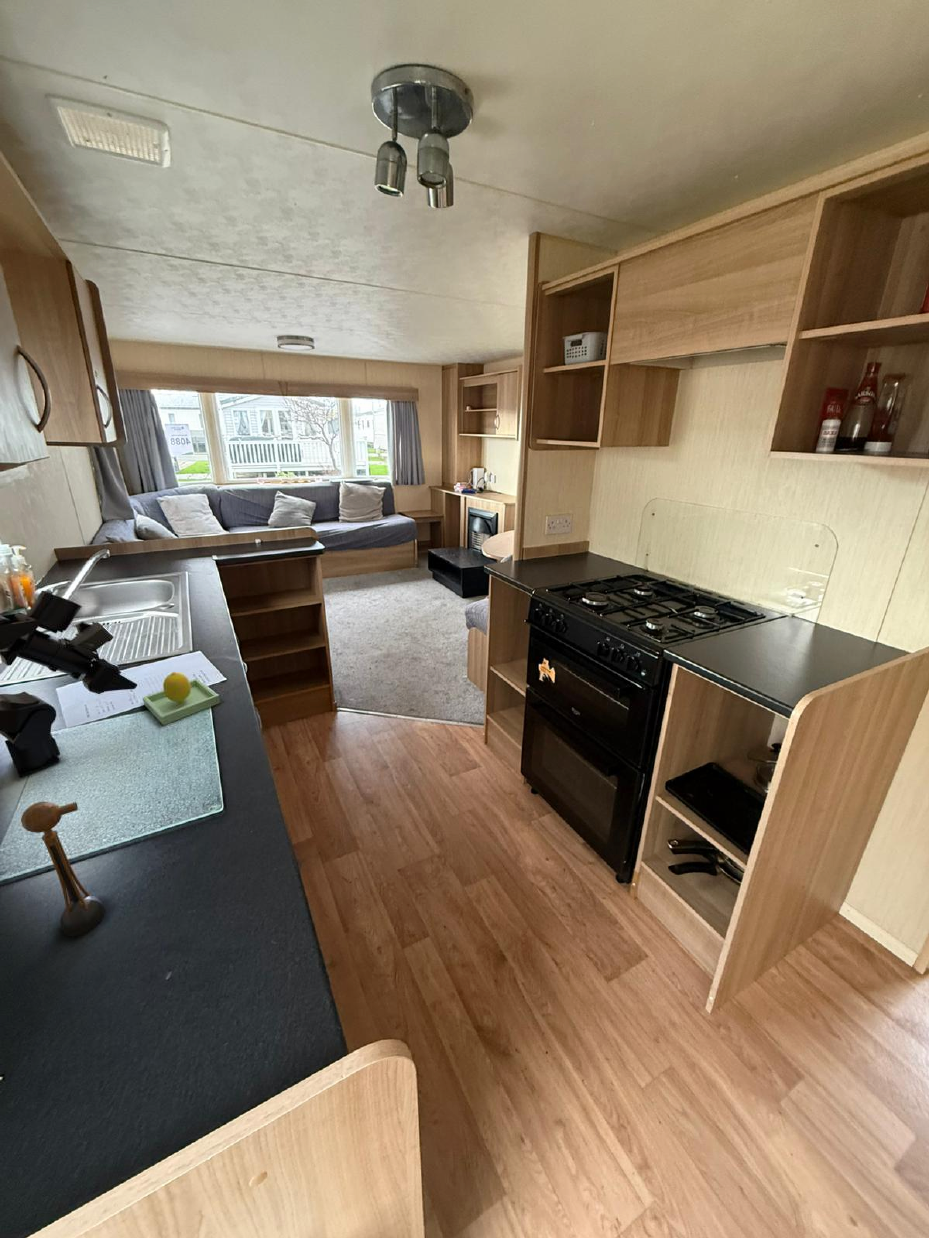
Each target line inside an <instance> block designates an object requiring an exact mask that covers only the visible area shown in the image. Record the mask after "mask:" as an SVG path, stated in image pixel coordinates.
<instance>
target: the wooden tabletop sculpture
mask: <svg viewBox="0 0 929 1238" xmlns="http://www.w3.org/2000/svg"><path fill="white" fill-rule="evenodd" d="M78 810H79V807H78V802H77V801H74V802H71V803H68V804H65V805H62V806H59V804H57V803H55V802H53V801H38V802H35V803H33V804H31V805H30V806H29V807H28V808H26V809H25V810H24V811H23V812H22V815H21V817H20V823H21V826H22V828H23V829H24V830H26V831H27V832H30V833H35V834H40V833H43V834H42V836H41V841H43V842H44V845H45V848H46V850H47V852H48V855H49V857H50V859H51V862H52V864H53V866H54V870H55V872H56V874H57V877H58V880H59V883H60V887H61V890H62V894H63V899H64V904H65V908H64V910H63V912H62V914H61V916H60V926H61V929H62V931H63V933H64V935H65V936H68V937H69V936H70V937H77V936H80V935H82V934H85V933H88V932H90V931H91V930H93V929H94V928H95V927H96V926H97V925H98V924H99V923H100V922H102V920H103V919H104V915H105V914H106V912H107V910H106V907H105V905H104V904H103V903H102V901H101V900H100V898H99V897H98V896H96V895H91V894H89V892H87V890H86V889H85V888H84V887H83V885H82V884H81V881H80V880H79V879H78V877H77V875H76V873H75V872H74V870H73V868H72V866H71V863H70V862H69V859H68V856H67V854H66V852H65V849H64V847H63V845H62V842H61V840H60V837H59V833H58V831H57V830H53V828H55V827H56V826H57V825H58V824H59V823H60V821H61V820H62V817H63V816H65V815H68V814H70V813H73V812H77V811H78ZM80 891H81V892H82V893H83V894H84V895H82V894H81V892H80Z"/></svg>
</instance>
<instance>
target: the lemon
mask: <svg viewBox="0 0 929 1238" xmlns="http://www.w3.org/2000/svg"><path fill="white" fill-rule="evenodd" d="M189 681H190V680H189V678H188V677H187V676H186V675H185V674H183V673H181V672H175V671H173V672H171V673H170V674H168V675H166V677H165V679H164V681H163V683H162V687H163V690H164V693H165V695H166V697H167V698H168V699H169V700H171V701H175V702H180V703H181V702H182V701H183V700H185V699H186V698H187V697H188V696H189V694H190V692H191V685H190V682H189Z"/></svg>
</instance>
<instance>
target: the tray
mask: <svg viewBox="0 0 929 1238" xmlns="http://www.w3.org/2000/svg"><path fill="white" fill-rule="evenodd" d="M189 682H190V685H191V692H190V694H189V696H188V697H187V698H186V699H185V700H183V701H182V702H181V703H180V702H175V701H171V700H169V699H168V698H167V697H166V695H165V693H164V689H163V690H160V691H156V692H154V693H151V694H148V695H145V696H143V697H142V702H143V705H144V707H146V708H147V710H149V711H150V713H151V714H152V715H153V716H154V717H155V718H156V719H157V720H158V721H159V722H160V723H161V724H162V725H163V726H165V725H168V724H170V723H173V722H175V721H178V720H180V719H183V718H185V717H188V716H190V715H194V714H196V713H198V712H201V711H203V710H206V709H208V708H211V707H214V706H215V705H219V704H221V701H220V696H219V694H218V693H216V692H215V691H214V690H212V689H211V688H210V687H209V686H208V685H206V684H205V683H204V682H202V680H200V679H199V678H195V679H192V680H189Z"/></svg>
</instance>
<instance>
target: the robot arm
mask: <svg viewBox="0 0 929 1238" xmlns="http://www.w3.org/2000/svg"><path fill="white" fill-rule="evenodd" d="M82 607H83V606H82V605H81V604H78V603H76V602H74V601H71V600H70V599H67V598H65V597H62V596H59V595H55V594H53V593H52V592H51V593H50V592H49V591H46V590H41V591H40V592H39V594H38V595H37V597H36V599H35V601H34V603H33V604H32V606H31V607H30V608H29V610H28V611H27V613H23V612H14V613H7V614H0V660H1V662H2V663H3V664H5V665H6V666H12V665H13V664H14V662H15V661H16V659H17V658H20V659H23V660H25V661H29V662H31V663H35V664H38V665H39V666H43V667H45V668H47V669H48V670H49V671H51V672H54V673H57V672H61V673H63V674H66V675H68V676H70V677H71V678H72V679H74V680H79V679H80V677H81V676H82V675H84V677H83V678H82V679H81V680H82V685H83V687H84V688H85V689H86V690H87V691H89V692H90V693H94V694H96V695H101V694H104V693H106V692H115V691H126V690H127V691H129V690H135V689H136V688H137V687H138V683H136V682H134V681H133V680H131V679H130V678H128V677H127V676H125V675H123V674H122V672H121V670H120V666H119V665H118V664H116V663H115V662H113V661H111V660H109V659H107V658H100V656H99V652H98V649H100V648H102V646H103V647H104V645H106V644H107V643H108V642H109V643H110V642H111V641H112V640H113V639H114V638H115V636H114V635H113V634H112V633H111V632H110V631H109V630H108V629H107V628H106V627H105V626H104V625H103V624H102V623H100V622H98V621H96V622H95V621H92V622H91V623H90V622H86V621H83V620H82V621H80V622H79V623H77V624H76V626H75V628H76V632H77V633H75V637H73V638H72V639H69V638H67V637H64V638H63V637H56V636H54V635H51V634H48V633H46V632H43V631H41V630H38V628H40V629H43V630H46V631H48V632H51V633H53V634H58V632H59V633H63V632H66V631H67V630H68V628H69V627H70V625H71V623H73V621H74V619H75V618H76V616H77V615H78V613H79V612H80V611H81V609H82ZM56 718H57V710H56V708H55V707H54V706H52V705H51V703H49V702H47V701H45V700H43V699H42V698H40V697H39V696H37V695H34V694H30V693H28V692H26V691H22V692H19V693H0V735H1V736H2V737H4V738H5V739H6V740H4V743H5V745H6V748H7V750H8V753H9V755H10V757H11V760H12V765H13V767H14V769H15V772H16V774H17V777H18V778H23V777H25V776H28V775H30V774H33V773H35V772H39V771H41V770H43V769H46V768H49V767H51V766H54V765H56V764H59V763H61V759H60V755H61V752H60V749H59V746H58V744H57V741H56V738H55V736H54V734H53V733H51V732H52V725H53V724H54V723H55V721H56Z"/></svg>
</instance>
